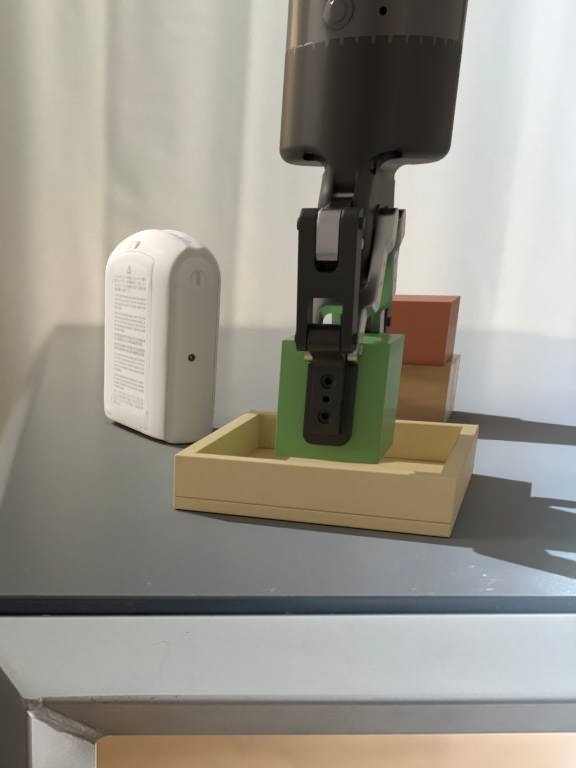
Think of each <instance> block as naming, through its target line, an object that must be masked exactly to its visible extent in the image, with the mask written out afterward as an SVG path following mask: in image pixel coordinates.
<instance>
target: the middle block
mask: <svg viewBox="0 0 576 768" xmlns="http://www.w3.org/2000/svg"><path fill="white" fill-rule="evenodd" d="M461 298H462V297H461V295H445V294H444V295H439V294H438V295H436V294H395V295H394V298H393V300H392V307H391V314H390V317H392V322H391V327H389V328H388V332H387V334H404V335H405V339H404V348H403V357H402V364H418V365H441V366H443V365H444V364H445V363H446V362H447V361H448V359H449V358H450V357H451V356H452V355H453V354H454V351H455V344H456V343H455V342H456V335H457V329H458V328H457V327H458V320H459V319H458V318H459V311H460V304H461Z"/></svg>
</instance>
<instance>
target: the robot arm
mask: <svg viewBox="0 0 576 768" xmlns="http://www.w3.org/2000/svg"><path fill="white" fill-rule="evenodd" d="M287 6H288V7H287V18H286V19H287V22H286V36H285V37H286V38H285V52H284V64H283V65H284V68H283V83H282V86H283V87H282V99H281V100H282V101H281V115H280V130H279V131H280V132H279V147H278V150H279V155H280V157H281V159H282V160H283V161H284V163H286V164H289V165H293V166H298V167H299V166H300V167H317V168H324V171H323V172H322V176H321V185H320V189H319V196H318V202H317V207H302V208H301V209H300V212H299V216H298V217H297V220H296V230H297V268H296V269H297V270H296V271H297V273H296V276H297V277H296V280H297V281H296V315H295V316H296V318H295V319H296V321H295V333H294V335H295V337H294V341H295V343H296V349H297V351H302V353H303V354H304V361H305V362H311V363H309V364H308V371H307V384H306V397H305V410H304V422H303V438H304V440H305V441H306V442H307V443H309V444H313V445H326V446H343V445H345V444H346V443H347V442H348V441H349V440H350V438H351V436H352V428H353V417H354V407H355V396H356V386H357V376H358V365H357V364H359V362H360V358H361V356H363V353H364V345H363V339H364V333H378V334H387V332H388V328H389V327H391V322H392V317H390V314H391V307H392V300H393V298H394V295H396V294H397V293H396V292H397V282H398V266H399V265H398V264H399V263H398V262H399V257H400V256H399V255H400V249H401V248H400V247H401V245H402V243H403V240H404V238H405V235H406V223H407V222H406V221H407V209H406V208H399V207H395V191H396V190H395V189H396V180H395V177H396V176H395V175H396V174H397V171H398V170H399V169H400V168H401V167H403V166H412V165H413V166H414V165H415V166H416V165H417V166H418V165H425V164H426V165H427V164H432V163H436V162H440V161H441V160H443V159H444V158H445V157H446V156H447V155H448V154H449V153H450V150H451V146H452V140H453V132H454V125H455V123H454V122H455V115H456V107H457V98H458V89H459V82H460V73H461V64H462V56H463V49H464V48H463V47H464V39H465V32H466V22H467V15H468V14H467V13H468V7H469V0H288V5H287ZM329 314H330V315H331V323H324V319H325V317H326V316H327V315H329Z"/></svg>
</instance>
